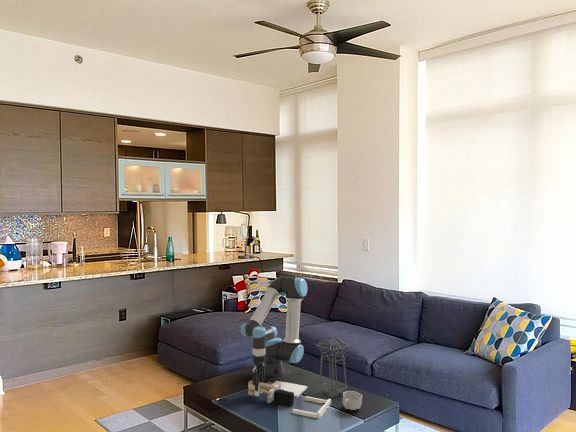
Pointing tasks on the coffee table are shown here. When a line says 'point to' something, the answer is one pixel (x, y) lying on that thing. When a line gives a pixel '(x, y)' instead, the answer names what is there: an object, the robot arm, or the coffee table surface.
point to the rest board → (291, 388)
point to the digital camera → (284, 398)
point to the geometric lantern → (332, 361)
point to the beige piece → (264, 389)
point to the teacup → (352, 400)
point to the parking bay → (310, 414)
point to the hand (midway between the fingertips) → (258, 394)
